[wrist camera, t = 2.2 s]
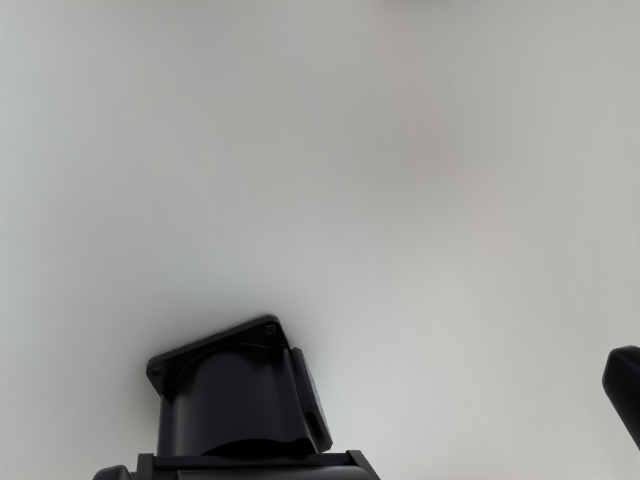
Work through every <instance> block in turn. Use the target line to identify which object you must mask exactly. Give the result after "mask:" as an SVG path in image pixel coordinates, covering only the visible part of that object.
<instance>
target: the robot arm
mask: <svg viewBox="0 0 640 480" xmlns="http://www.w3.org/2000/svg"><path fill="white" fill-rule="evenodd" d="M268 325H274V327H273V328H271V329H268V328H266V327H267V326H268ZM157 367H158V368H161V370H154V368H157ZM146 375H147V377H148V379H149V380H150V382H151V383H152V385H153V387H154V388H155V390H156V391H157V393H158V395H159V396H160V398H161V404H160V417H159V430H158V443H157V456H154V453H143V454H139V455H138V463H137V471H136V472H130V474H129V472H128V470H127V468H126V467H125V466H124V465H117V466H113V467H109V468H104V469H102V470H100V471H98V472H97V473H96V475H95V476H94V478H93V479H92V480H381V479H380V478H379V477H378V475H377V474H376V472H375V471H374V469H373V468H372V467H371V465H370V464H369V462H368V461H367V460H366V458H365V457H364V455H363V454H362V453H361V451H360V450H347V451H346V453H322V452H325V451H327V450H330V448H331V446H332V444H333V442H332V439H331V435H330V432H329V429H328V425H327V422H326V419H325V415H324V412H323V409H322V405H321V402H320V399H319V395H318V392H317V389H316V386H315V383H314V380H313V378H312V375H311V373H310V370H309V368H308V365H307V363H306V360H305V358H304V355H303V353H302V350H301V349H299V348H296V347H295V348H292V349H291V347H290V344H289V342H288V340H287V337H286V335H285V332H284V330H283V327H282V325H281V323H280V320H279V319H278V318H277V317H275V316H271V315H270V316H265V317H263V318H260V319H257V320H255V321H252V322H249V323H247V324H244V325H241V326H239V327H236V328H233V329H231V330H228V331H225V332H223V333H220V334H217V335H214V336H212V337H209V338H206V339H204V340H201V341H198V342H196V343H193V344H190V345H188V346H185V347H182V348H180V349H177V350H174V351H171V352H169V353H166V354H163V355H161V356H158V357H155V358H153V359H151V360H149V362H148V363H147V366H146ZM602 384H603V388H604V391H605V393H606V394H607V396H608V398H609V399H610V401H611V403H612V405H613V406H614V408H615V410H616V411H617V413H618V415H619V416H620V418H621V420H622V421H623V423H624V425H625V426H626V428H627V430H628V432H629V433H630V435H631V437H632V438H633V440H634V442H635V443H636V445H637V447H638V448H639V450H640V348H639V347H636V346H625V347H621V348H616V349H613V350H612V351H611V352H610V353H609V356H608V359H607V363H606V366H605V370H604V374H603V377H602Z"/></svg>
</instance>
